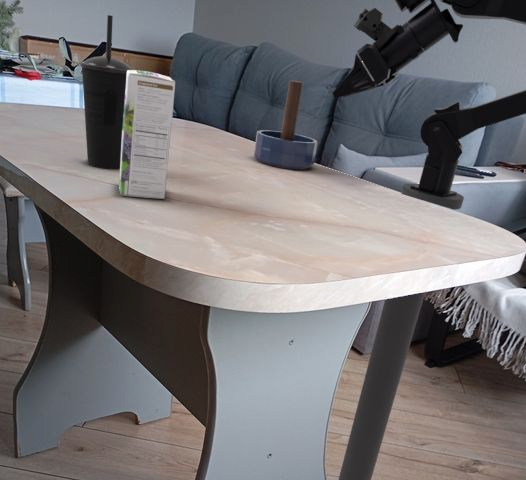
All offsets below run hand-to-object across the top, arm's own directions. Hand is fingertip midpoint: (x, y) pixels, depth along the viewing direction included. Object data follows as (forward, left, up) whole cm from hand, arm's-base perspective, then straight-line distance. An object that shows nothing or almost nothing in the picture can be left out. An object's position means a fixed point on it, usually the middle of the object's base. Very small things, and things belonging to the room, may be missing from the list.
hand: (338, 95), depth 110 cm
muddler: (+3, -7, -13) cm, 15 cm away
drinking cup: (+41, -11, -14) cm, 45 cm away
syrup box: (+46, +4, -14) cm, 49 cm away
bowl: (+3, -7, -14) cm, 16 cm away
